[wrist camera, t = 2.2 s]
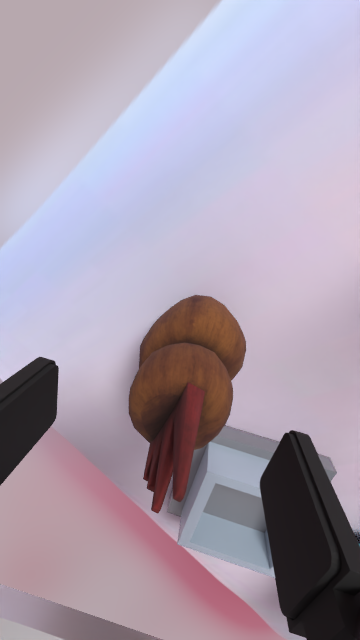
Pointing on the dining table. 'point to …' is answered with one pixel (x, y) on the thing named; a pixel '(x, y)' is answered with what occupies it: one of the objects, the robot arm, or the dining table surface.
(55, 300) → the dining table surface
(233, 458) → the figurine dock
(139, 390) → the wooden figurine
